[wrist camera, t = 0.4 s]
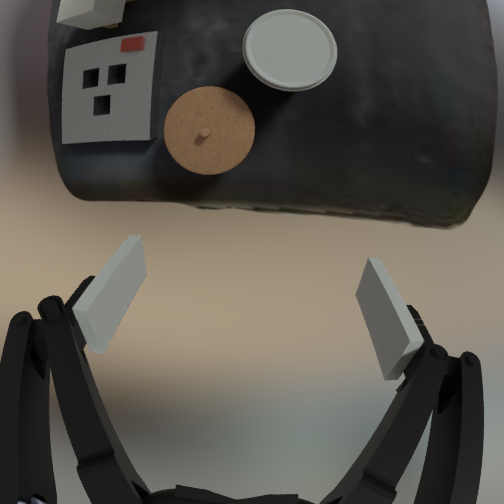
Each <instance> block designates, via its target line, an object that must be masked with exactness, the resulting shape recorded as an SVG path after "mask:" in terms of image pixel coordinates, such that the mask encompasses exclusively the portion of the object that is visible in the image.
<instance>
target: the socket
mask: <svg viewBox="0 0 504 504" xmlns="http://www.w3.org/2000/svg"><path fill="white" fill-rule="evenodd" d="M164 39H165V35H164V34H162V33H160V32H158V31H154V32H146V33H138V34H132V35H126V36H120V37H114V38H109V39H105V40H100V41H96V42H91V43H87V44H83V45H80V46H76V47H72V48H69V49H66V52H65V61H64V72H63V87H62V144H70V143H82V142H98V141H121V140H151V139H154V138H156V137H157V126H158V104H159V89H160V76H161V65H162V56H163V47H164ZM123 66H126V77H125V83H121V84H117V76H118V67H123ZM98 70H99V81H98V87H93V76H94V71H98ZM108 95H111V98H110V114H103V109H104V96H108Z"/></svg>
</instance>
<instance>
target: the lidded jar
mask: <svg viewBox="0 0 504 504" xmlns="http://www.w3.org/2000/svg"><path fill="white" fill-rule="evenodd" d="M254 136H255V123H254V118H253V115H252V113H251V111H250V109H249V107H248V105H247V104H246V103H245V101H244V100H242V99H241V98H240V97H239V96H238V95H236V94H235V93H234V92H231V91H229V90H227V89H224V88H221V87H214V86H206V87H200V88H196V89H193V90H190V91H189V92H187V93H185V94H183V95H182V96H181V97H180V98H178V99H177V100H176V102H175V103H174V104H173V105H172V107H171V108H170V110H169V112H168V114H167V116H166V120H165V124H164V138H165V143H166V146H167V149H168V151H169V152H170V154H171V156H172V157H173V158H174V159H175V161H176V162H177V163H179V164H180V165H181V166H182V167H184V168H185V169H187V170H189V171H191V172H195V173H198V174H204V175H214V174H220V173H223V172H226V171H228V170H230V169H232V168H234V167H235V166H237V165H238V164H239V163H240V162H241V161H242V160H243V159H244V158H245V157H246V156H247V154H248V152H249V151H250V149H251V147H252V144H253V141H254Z"/></svg>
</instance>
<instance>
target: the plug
mask: <svg viewBox="0 0 504 504" xmlns="http://www.w3.org/2000/svg"><path fill="white" fill-rule="evenodd" d="M131 1H135V0H61V3H60V8H59V12H58V17H57V22H56V23H61V24H65V25H70V26H74V27H78V28H82V29H86V30H90V29H94V28H97V27H105V28H108V29H110V28H115V27H118V23H120V22H122V18H123V12H124V6H125V2H131Z"/></svg>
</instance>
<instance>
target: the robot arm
mask: <svg viewBox="0 0 504 504" xmlns="http://www.w3.org/2000/svg"><path fill="white" fill-rule="evenodd" d="M146 275H147V273H146V266H145V259H144V251H143V242H142V236H141V235H129V236H128V238H127V239H126V240H125V241H124V242H123V244H122V245H121V246H120V247H119V248H118V250H117V251H116V252H115V253H114V254H113V256H112V257H111V258H110V259H109V261H108V262H107V263H106V264H105V266H104V267H103V268H102V269H101V271H100V272H99V273H98V274H97V276H89V277H88V278H86V279H85V280H83V282H82V283H81V284H80V285H79V287H78V288H77V289H76V290H75V292H74V293H73V294H72V296H71V297H70V298H69V300H68V301H67V302H66V304H65V305H64V303H63V301H62V299H61V297H59V296H54V295H53V296H49V297H46V298H44V299H43V300H42V301H41V302H40V303H39V304H38V308H37V309H38V312H39V314H40V316H41V318H42V319H33V318H32V316H31V314H30V313H29V312H27V311H22V312H19V313H17V314H16V315H14V316H13V318H12V319H11V321H10V324H9V328H8V332H7V336H6V340H5V344H4V348H3V353H2V357H1V362H0V504H57V493H56V485H55V479H54V472H53V464H52V455H51V444H50V426H49V384H50V368H51V372H52V377H53V382H54V386H55V391H56V395H57V398H58V402H59V406H60V410H61V413H62V417H63V420H64V423H65V426H66V429H67V433H68V435H69V438H70V441H71V444H72V447H73V449H74V452H75V455H76V457H77V460H78V465H77V472H78V475H79V478H80V480H81V482H82V484H83V487H84V489H85V491H86V493H87V495H88V497H89V499H90V501H91V503H92V504H314V503H312V502H309V501H307V500H303V499H299V498H298V494H285V495H284V494H283V495H282V494H280V495H273V494H269V495H263V496H258V497H253V498H246V499H239V500H236V499H232V498H229V497H226V496H223V495H220V494H217V493H213V492H211V491H208V490H205V489H198V488H192V487H186V486H181V485H176V489H166V490H161V491H157V492H154V493H151V492H150V491H149V489H148V488H147V486H146V485H145V483H144V482H143V480H142V479H141V478H140V476H139V475H138V474H137V472H136V470H135V469H134V467H133V465H132V464H131V462H130V460H129V458H128V456H127V454H126V452H125V450H124V448H123V446H122V444H121V442H120V440H119V438H118V436H117V434H116V432H115V430H114V428H113V425H112V423H111V421H110V419H109V417H108V414H107V412H106V409H105V407H104V405H103V402H102V400H101V397H100V395H99V392H98V389H97V387H96V384H95V381H94V378H93V376H92V373H91V370H90V367H89V364H88V361H87V358H86V355H85V352H84V350H83V349H84V347H85V345H86V343H87V345H88V348H89V350H90V352H94V353H98V354H101V355H104V353H105V351H106V349H107V347H108V345H109V343H110V341H111V339H112V337H113V334H114V333H115V331H116V329H117V327H118V325H119V324H120V322H121V320H122V318H123V316H124V314H125V312H126V310H127V309H128V307H129V305H130V303H131V301H132V300H133V298H134V296H135V294H136V292H137V291H138V289H139V287H140V285H141V284H142V282H143V280H144V278H145V277H146ZM356 297H357V300H358V303H359V305H360V308H361V311H362V313H363V316H364V319H365V322H366V325H367V327H368V330H369V333H370V336H371V339H372V342H373V345H374V348H375V351H376V354H377V357H378V360H379V364H380V367H381V370H382V373H383V376H384V380H397V379H398V378H399V377H400V376H401V374H402V373H403V372H404V374H405V377H406V378H405V379H404V381H403V382H402V384H401V385H400V386H399V387H398V389H397V390H396V391H397V394H396V396H395V398H394V400H393V401H392V403H391V405H390V407H389V409H388V410H387V412H386V414H385V416H384V418H383V419H382V421H381V423H380V424H379V426H378V428H377V429H376V431H375V433H374V434H373V436H372V437H371V439H370V440H369V442H368V444H367V445H366V446H365V448H364V449H363V451H362V452H361V454H360V455H359V457H358V458H357V460H356V461H355V462H354V464H353V465H352V467H351V468H350V469H349V471H348V472H347V473H346V475H345V476H344V477H343V479H342V480H341V481H340V482H339V484H338V485H337V486H336V487H335V489H334V490H333V491H332V492H330V493H329V494H328V495H327V496H326V497H325V498H324V499H323V500H322V501H321V502H320V504H392V502H393V501H394V499H395V497H396V494H397V492H396V490H395V488H396V485H397V483H398V482H399V480H400V478H401V476H402V475H403V473H404V471H405V469H406V467H407V465H408V463H409V461H410V459H411V458H412V455H413V453H414V451H415V449H416V447H417V445H418V443H419V441H420V439H421V436H422V434H423V432H424V430H425V427H426V425H427V422H428V419H429V417H430V415H431V412H432V410H433V413H432V421H431V428H430V435H429V441H428V447H427V452H426V457H425V462H424V466H423V471H422V475H421V479H420V483H419V487H418V490H417V494H416V497H415V501H414V504H476V501H477V495H478V489H479V483H480V475H481V467H482V456H483V438H484V401H483V384H482V372H481V364H480V360H479V359H478V357H477V356H476V355H475V354H473V353H471V352H467V351H466V352H463V354H462V355H461V356H460V358H456V357H452V356H448V353H447V351H446V350H445V349H444V348H443V347H441V346H440V345H437V344H434V342H433V340H432V338H431V336H430V334H429V333H428V330H427V329H426V327H425V326H424V323H423V321H422V320H421V317H420V315H419V313H418V312H417V311H416V310H415V309H414V308H413V307H412V306H411V305H406V304H405V302H404V300H403V299H402V297H401V295H400V293H399V291H398V290H397V288H396V286H395V284H394V282H393V281H392V279H391V277H390V275H389V274H388V272H387V270H386V269H385V267H384V265H383V263H382V262H381V260H380V259H379V258H369V257H368V260H367V263H366V266H365V269H364V272H363V275H362V278H361V281H360V283H359V286H358V289H357V292H356Z"/></svg>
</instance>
